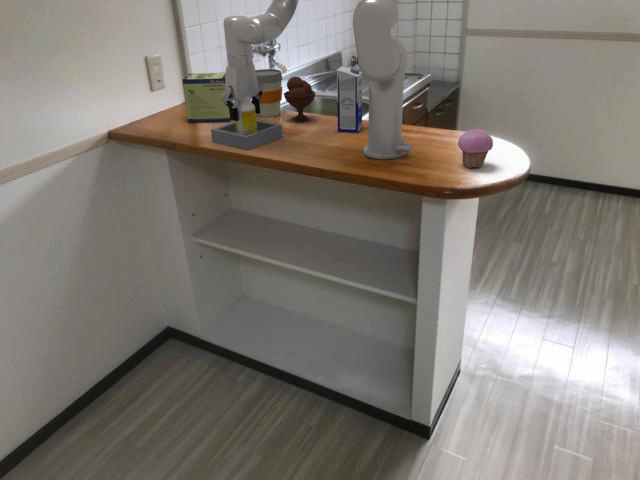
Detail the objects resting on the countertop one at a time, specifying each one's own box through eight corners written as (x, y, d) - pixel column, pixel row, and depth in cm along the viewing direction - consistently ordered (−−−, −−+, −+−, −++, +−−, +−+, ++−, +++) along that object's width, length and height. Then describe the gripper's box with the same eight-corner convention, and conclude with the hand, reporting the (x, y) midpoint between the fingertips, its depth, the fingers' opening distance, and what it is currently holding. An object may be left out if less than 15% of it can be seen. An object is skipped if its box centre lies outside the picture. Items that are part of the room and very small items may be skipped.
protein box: (230, 122, 193) (225, 77, 186) (187, 123, 193) (181, 79, 186) (235, 114, 202) (230, 71, 195) (194, 115, 203) (187, 73, 195)
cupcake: (484, 160, 150) (488, 124, 145) (494, 171, 142) (498, 134, 137) (452, 161, 150) (455, 126, 145) (460, 172, 142) (463, 135, 137)
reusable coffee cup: (269, 107, 210) (266, 67, 203) (291, 112, 202) (289, 71, 195) (244, 114, 202) (240, 73, 195) (265, 120, 194) (262, 77, 187)
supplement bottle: (261, 134, 174) (258, 94, 168) (249, 140, 169) (245, 99, 163) (245, 132, 178) (241, 92, 171) (232, 137, 173) (228, 97, 167)
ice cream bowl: (303, 125, 186) (301, 80, 179) (279, 120, 192) (276, 77, 185) (322, 118, 194) (320, 75, 187) (298, 114, 200) (296, 72, 193)
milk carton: (342, 126, 184) (341, 65, 175) (362, 127, 182) (362, 65, 173) (337, 132, 178) (336, 69, 169) (357, 133, 176) (357, 69, 167)
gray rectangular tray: (282, 136, 175) (282, 124, 173) (248, 150, 164) (246, 137, 162) (247, 129, 184) (246, 117, 182) (212, 141, 173) (210, 129, 171)
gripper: (251, 55, 171) (255, 109, 179) (210, 64, 159) (217, 121, 167) (268, 57, 167) (272, 112, 175) (227, 66, 155) (234, 125, 163)
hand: (245, 116), depth 171 cm, fingers open, 9 cm apart
